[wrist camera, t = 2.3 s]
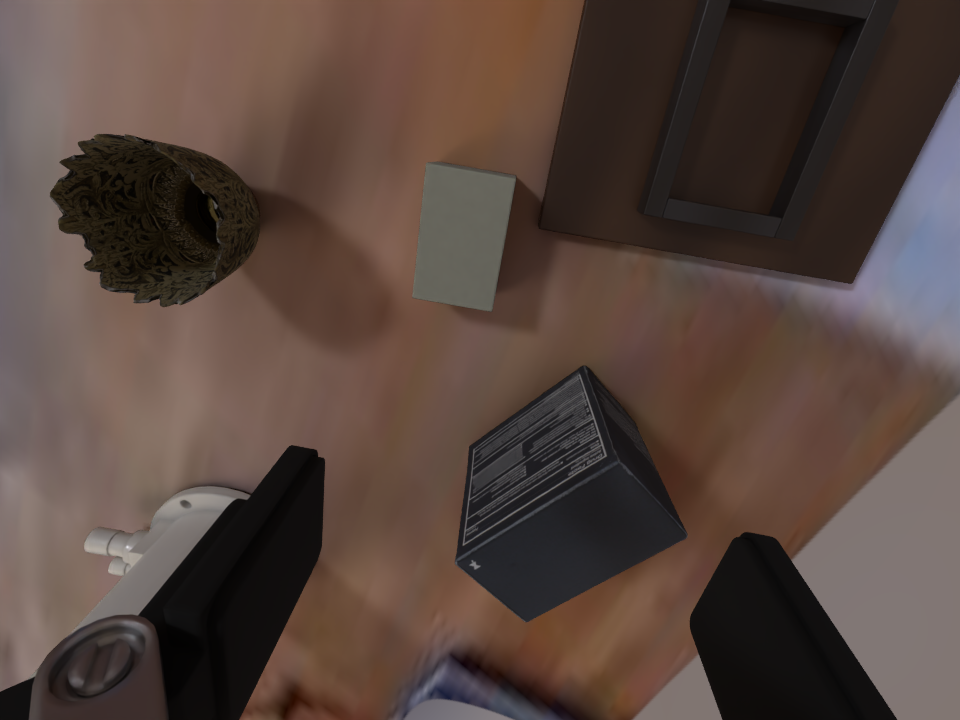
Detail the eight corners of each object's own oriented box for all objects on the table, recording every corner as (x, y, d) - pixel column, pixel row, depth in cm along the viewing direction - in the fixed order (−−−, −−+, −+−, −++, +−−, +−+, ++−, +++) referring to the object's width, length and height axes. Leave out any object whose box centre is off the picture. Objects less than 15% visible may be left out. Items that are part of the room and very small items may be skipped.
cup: (151, 154, 27) (14, 155, 19) (267, 125, 25) (167, 113, 18) (207, 279, 29) (106, 320, 22) (313, 257, 28) (243, 293, 21)
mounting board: (537, 226, 27) (539, 232, 24) (602, -87, 21) (613, -116, 19) (841, 280, 27) (871, 291, 24) (990, -17, 21) (1048, -38, 19)
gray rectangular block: (423, 282, 29) (412, 298, 25) (437, 161, 26) (426, 162, 22) (494, 294, 29) (492, 312, 25) (516, 175, 26) (516, 178, 22)
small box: (523, 501, 35) (525, 631, 25) (465, 446, 33) (445, 563, 24) (641, 426, 32) (695, 544, 22) (584, 361, 30) (616, 457, 20)
